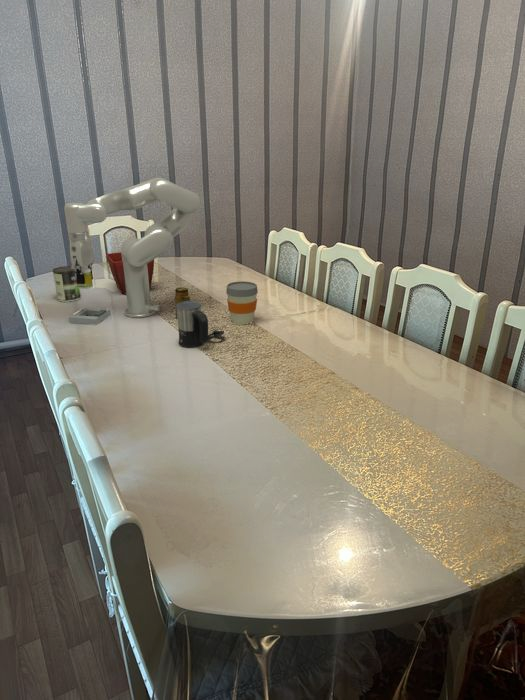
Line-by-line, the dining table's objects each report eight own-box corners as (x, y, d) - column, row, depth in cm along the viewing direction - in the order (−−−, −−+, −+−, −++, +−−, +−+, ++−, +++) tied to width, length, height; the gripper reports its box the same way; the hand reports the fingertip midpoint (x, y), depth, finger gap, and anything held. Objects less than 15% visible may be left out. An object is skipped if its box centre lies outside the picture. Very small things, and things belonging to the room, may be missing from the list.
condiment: (186, 312, 221) (184, 285, 216) (197, 317, 215) (195, 290, 210) (171, 316, 217) (169, 288, 212) (181, 321, 211) (179, 293, 206)
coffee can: (84, 295, 243) (79, 265, 237) (76, 302, 234) (71, 271, 228) (62, 295, 243) (57, 265, 238) (53, 302, 234) (48, 271, 228)
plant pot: (109, 287, 256) (105, 253, 249) (148, 282, 263) (145, 249, 256) (117, 297, 240) (112, 262, 233) (157, 292, 247) (154, 257, 240)
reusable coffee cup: (244, 328, 203) (244, 292, 197) (220, 322, 210) (219, 286, 204) (264, 320, 212) (264, 284, 206) (240, 313, 219) (239, 279, 213)
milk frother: (173, 345, 189) (170, 306, 183) (197, 331, 201) (195, 294, 195) (205, 352, 182) (203, 312, 176) (229, 337, 195) (228, 300, 189)
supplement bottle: (88, 289, 205) (85, 265, 201) (76, 288, 206) (72, 264, 202) (95, 285, 210) (92, 262, 206) (83, 284, 211) (79, 261, 207)
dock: (110, 315, 218) (109, 307, 217) (96, 325, 207) (95, 317, 206) (84, 313, 220) (83, 305, 219) (69, 323, 209) (68, 315, 208)
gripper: (76, 241, 192) (83, 288, 199) (98, 232, 207) (104, 276, 214) (57, 240, 193) (65, 287, 200) (81, 231, 208) (87, 275, 216)
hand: (85, 281), depth 207 cm, fingers closed on supplement bottle, 5 cm apart
